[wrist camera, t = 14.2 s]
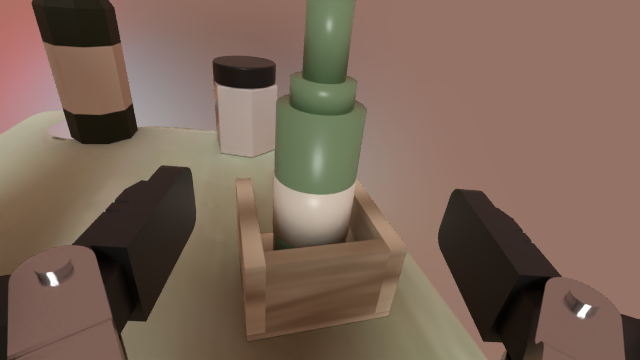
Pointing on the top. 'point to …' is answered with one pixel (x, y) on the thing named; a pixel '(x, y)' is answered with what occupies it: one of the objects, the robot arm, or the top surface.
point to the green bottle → (318, 135)
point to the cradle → (317, 272)
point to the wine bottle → (88, 68)
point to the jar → (245, 104)
